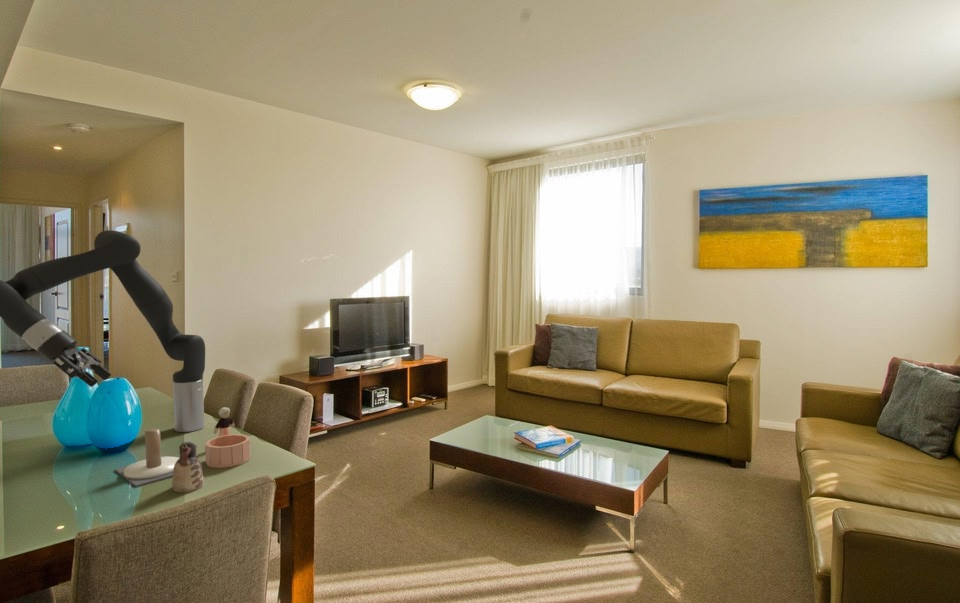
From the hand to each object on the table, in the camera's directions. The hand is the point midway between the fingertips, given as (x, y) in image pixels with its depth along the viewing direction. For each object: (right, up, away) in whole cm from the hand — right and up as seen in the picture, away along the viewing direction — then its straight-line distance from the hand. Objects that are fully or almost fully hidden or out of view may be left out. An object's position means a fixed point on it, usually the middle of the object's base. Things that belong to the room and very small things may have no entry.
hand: (102, 380), depth 141 cm
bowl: (+28, -26, +13) cm, 40 cm away
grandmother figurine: (+21, -25, +25) cm, 41 cm away
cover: (+11, -25, +5) cm, 28 cm away
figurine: (+26, -27, -5) cm, 38 cm away
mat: (+11, -26, +5) cm, 29 cm away
